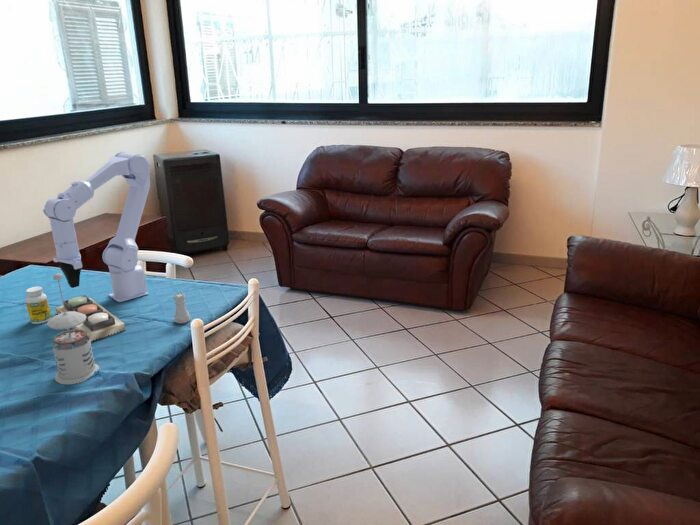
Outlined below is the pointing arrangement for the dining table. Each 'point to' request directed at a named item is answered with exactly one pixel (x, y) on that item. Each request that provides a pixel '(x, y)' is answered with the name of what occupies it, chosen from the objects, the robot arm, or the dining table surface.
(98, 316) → the button cream
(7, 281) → the dining table surface
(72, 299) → the button sage
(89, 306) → the button terracotta
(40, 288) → the supplement bottle
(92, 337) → the button board
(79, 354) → the french press
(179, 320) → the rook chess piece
